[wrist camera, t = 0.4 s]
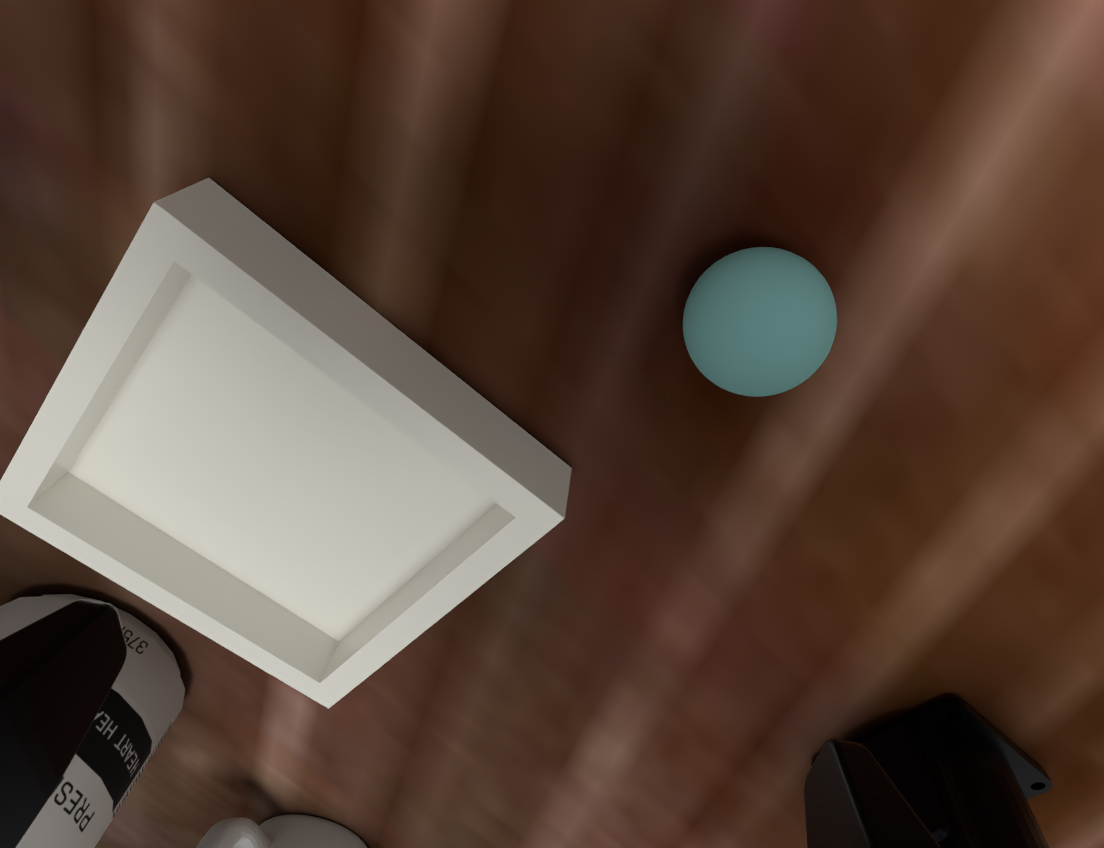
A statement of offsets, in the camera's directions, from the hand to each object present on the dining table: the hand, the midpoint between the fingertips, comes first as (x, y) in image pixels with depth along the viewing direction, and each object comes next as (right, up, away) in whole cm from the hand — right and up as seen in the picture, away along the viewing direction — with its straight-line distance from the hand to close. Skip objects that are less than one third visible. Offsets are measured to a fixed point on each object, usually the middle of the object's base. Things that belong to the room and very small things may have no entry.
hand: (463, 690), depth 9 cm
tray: (-7, +2, +15) cm, 16 cm away
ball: (+6, +7, +10) cm, 14 cm away
